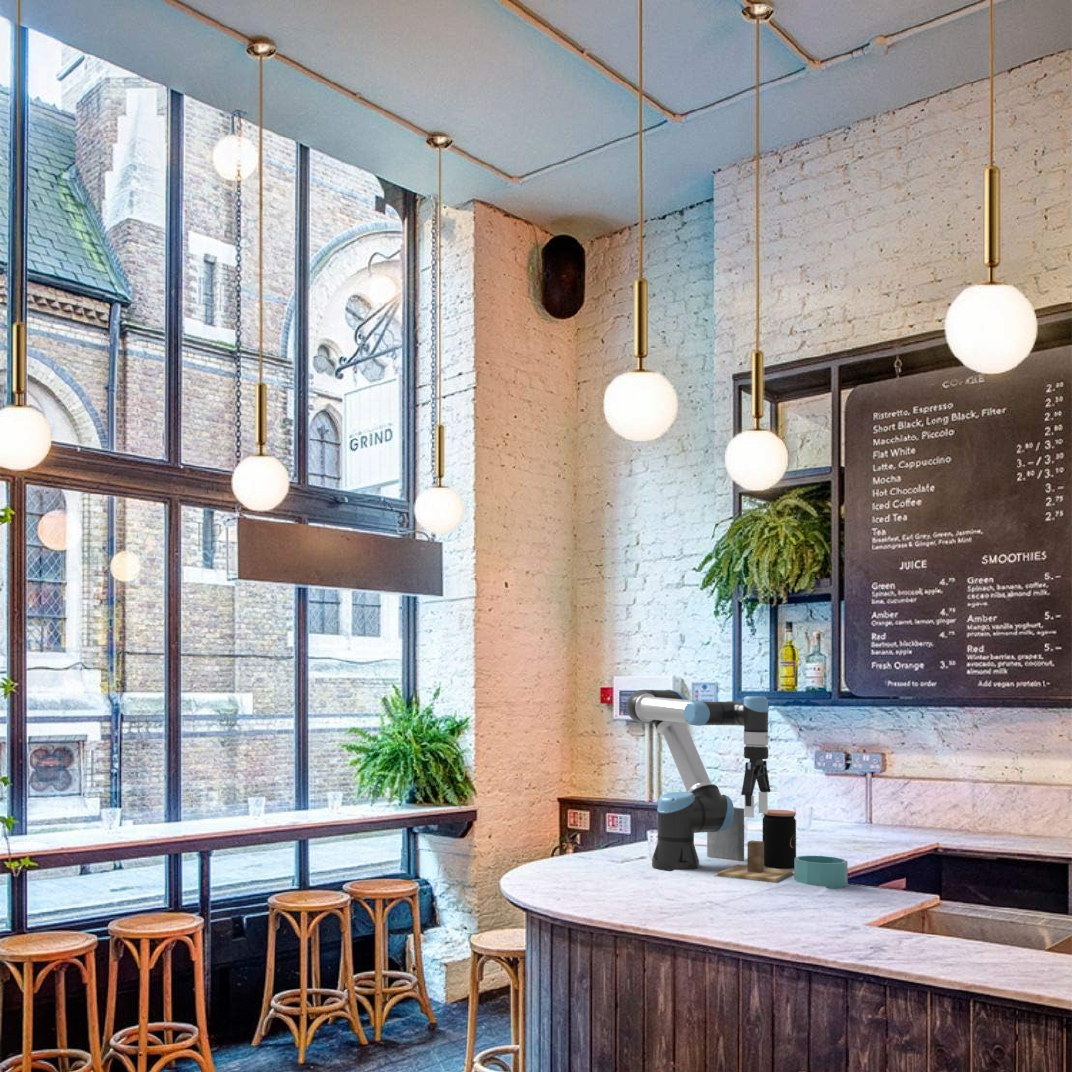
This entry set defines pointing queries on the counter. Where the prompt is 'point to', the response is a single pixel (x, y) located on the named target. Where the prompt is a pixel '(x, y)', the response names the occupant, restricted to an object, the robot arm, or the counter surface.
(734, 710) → the robot arm
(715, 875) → the rubber mat
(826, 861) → the teal bowl
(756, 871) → the oak cover
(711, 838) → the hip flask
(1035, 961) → the counter surface
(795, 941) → the counter surface
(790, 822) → the coffee jar
